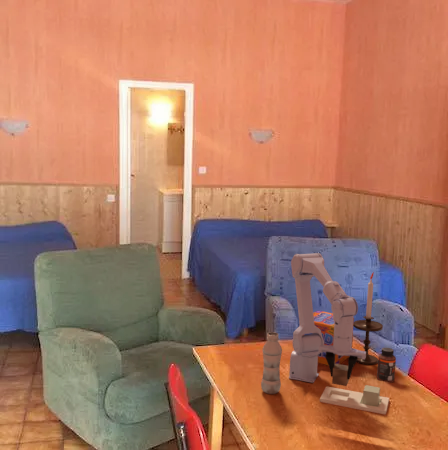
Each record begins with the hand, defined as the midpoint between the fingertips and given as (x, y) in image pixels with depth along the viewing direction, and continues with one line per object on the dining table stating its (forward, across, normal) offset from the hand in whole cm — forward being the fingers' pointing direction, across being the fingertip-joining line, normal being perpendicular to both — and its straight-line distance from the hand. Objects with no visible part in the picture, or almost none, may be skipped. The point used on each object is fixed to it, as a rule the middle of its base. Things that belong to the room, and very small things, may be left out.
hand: (340, 376), depth 176 cm
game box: (+9, -12, +38) cm, 40 cm away
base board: (+8, +5, 0) cm, 10 cm away
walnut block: (+2, 0, 0) cm, 2 cm away
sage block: (+7, +10, 0) cm, 12 cm away
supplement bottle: (+9, +12, +24) cm, 29 cm away
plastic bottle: (+9, -22, -2) cm, 24 cm away
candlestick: (+9, +3, +40) cm, 42 cm away
